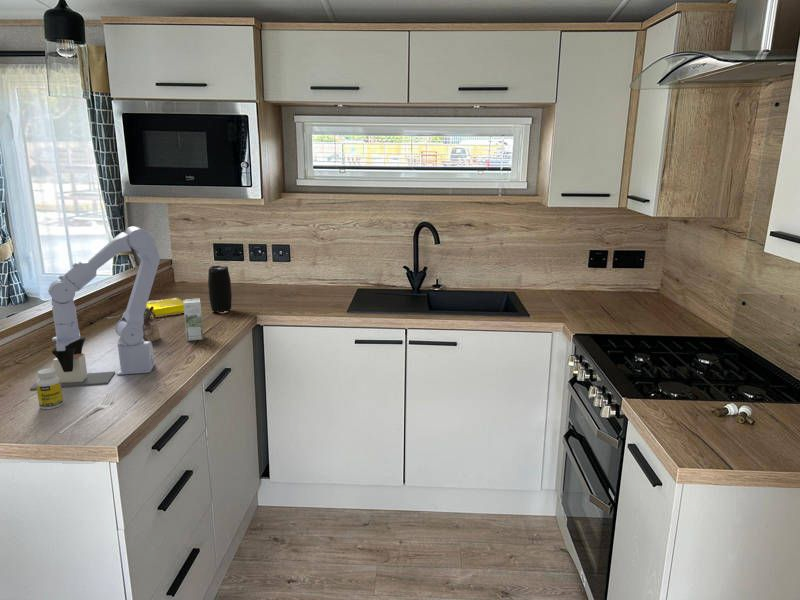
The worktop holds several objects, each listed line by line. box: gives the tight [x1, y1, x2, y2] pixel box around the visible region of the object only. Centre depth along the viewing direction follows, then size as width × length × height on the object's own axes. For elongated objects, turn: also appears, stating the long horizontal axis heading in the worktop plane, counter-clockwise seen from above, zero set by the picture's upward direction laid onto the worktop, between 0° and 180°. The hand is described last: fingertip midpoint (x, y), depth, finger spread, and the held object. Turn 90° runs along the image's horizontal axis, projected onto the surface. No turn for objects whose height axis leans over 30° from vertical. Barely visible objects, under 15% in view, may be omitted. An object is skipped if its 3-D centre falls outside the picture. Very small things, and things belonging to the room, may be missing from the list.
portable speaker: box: [207, 265, 233, 313], centre depth 240 cm, size 9×9×20 cm
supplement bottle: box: [35, 367, 64, 410], centre depth 149 cm, size 5×5×10 cm
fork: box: [59, 393, 116, 434], centre depth 144 cm, size 3×20×2 cm, turn 172°
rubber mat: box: [29, 370, 116, 391], centre depth 166 cm, size 20×9×1 cm, turn 104°
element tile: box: [146, 297, 184, 316], centre depth 242 cm, size 15×15×5 cm
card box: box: [52, 353, 88, 383], centre depth 165 cm, size 4×7×7 cm, turn 98°
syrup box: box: [182, 298, 204, 342], centre depth 204 cm, size 6×6×14 cm
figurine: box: [143, 306, 161, 342], centre depth 204 cm, size 7×7×12 cm
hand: (72, 366), depth 165 cm, fingers open, 7 cm apart
